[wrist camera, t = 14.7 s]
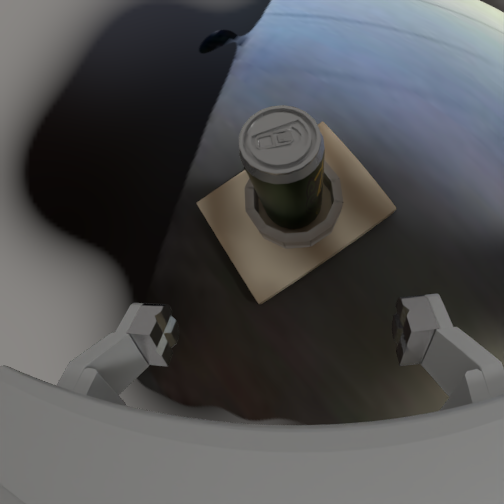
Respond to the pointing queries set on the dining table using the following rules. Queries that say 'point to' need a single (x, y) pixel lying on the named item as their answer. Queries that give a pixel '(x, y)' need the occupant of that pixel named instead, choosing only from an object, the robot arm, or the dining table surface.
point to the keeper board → (295, 240)
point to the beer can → (285, 163)
